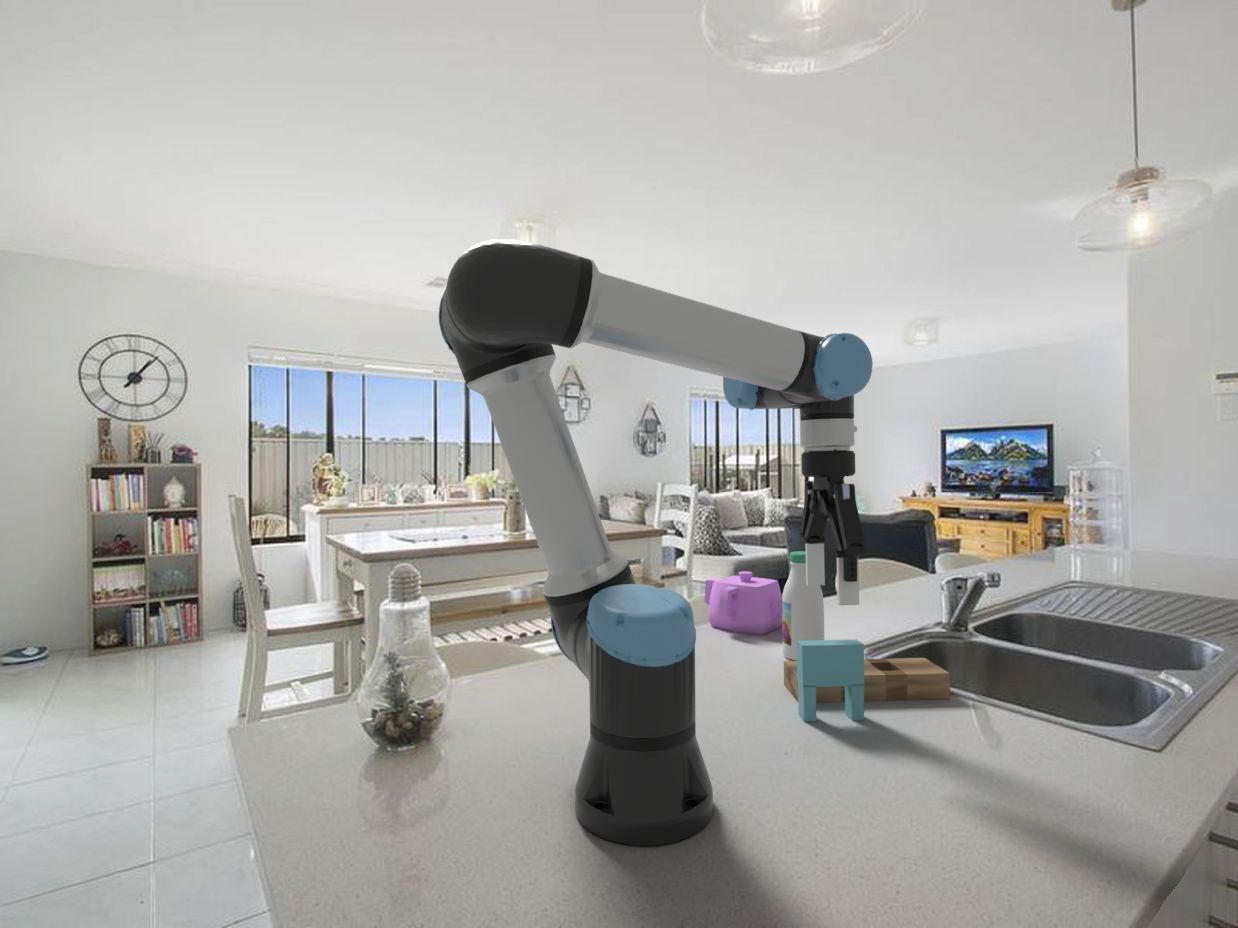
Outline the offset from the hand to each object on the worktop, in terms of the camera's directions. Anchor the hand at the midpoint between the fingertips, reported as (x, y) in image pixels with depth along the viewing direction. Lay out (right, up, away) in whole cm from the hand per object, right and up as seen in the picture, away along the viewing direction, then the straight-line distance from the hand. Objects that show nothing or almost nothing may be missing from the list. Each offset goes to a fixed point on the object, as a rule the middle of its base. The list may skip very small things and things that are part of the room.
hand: (830, 594), depth 95 cm
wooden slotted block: (+9, -18, +10) cm, 22 cm away
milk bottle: (+4, -18, +29) cm, 35 cm away
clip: (0, -18, 0) cm, 18 cm away
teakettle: (-1, -18, +53) cm, 56 cm away
